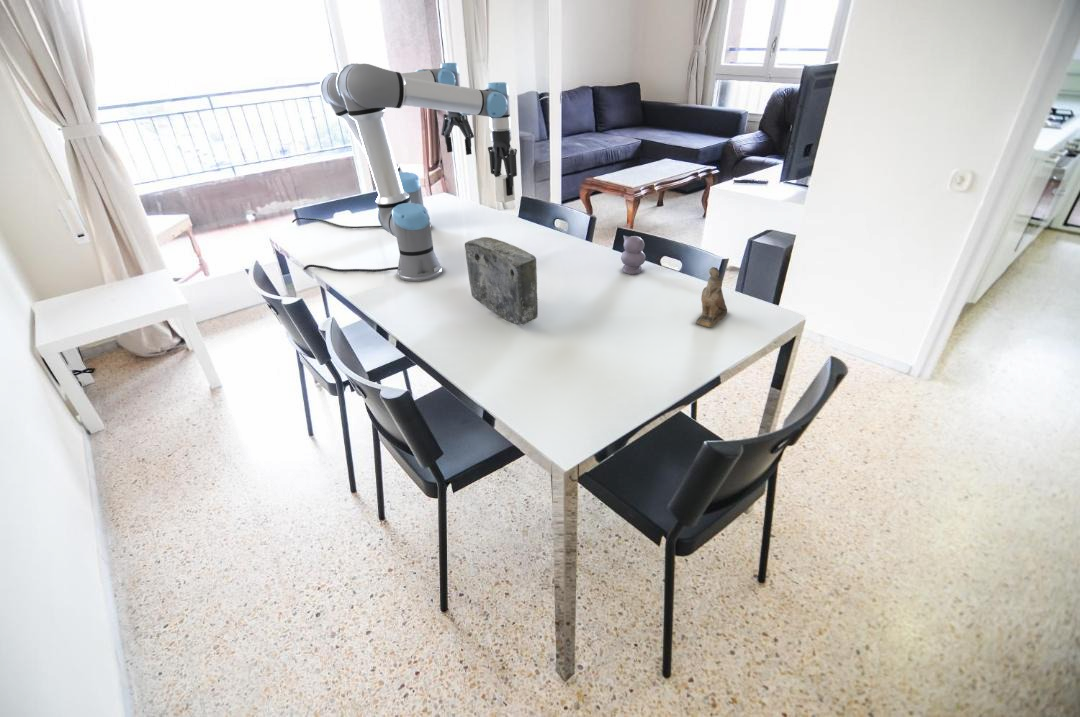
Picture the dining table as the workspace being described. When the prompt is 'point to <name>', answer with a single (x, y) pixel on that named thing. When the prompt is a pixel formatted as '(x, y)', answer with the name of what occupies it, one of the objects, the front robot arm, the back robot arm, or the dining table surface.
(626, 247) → the cat figurine
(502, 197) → the white rectangular block
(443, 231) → the dining table surface
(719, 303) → the brown carved statuette
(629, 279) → the dining table surface
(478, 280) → the concrete block
